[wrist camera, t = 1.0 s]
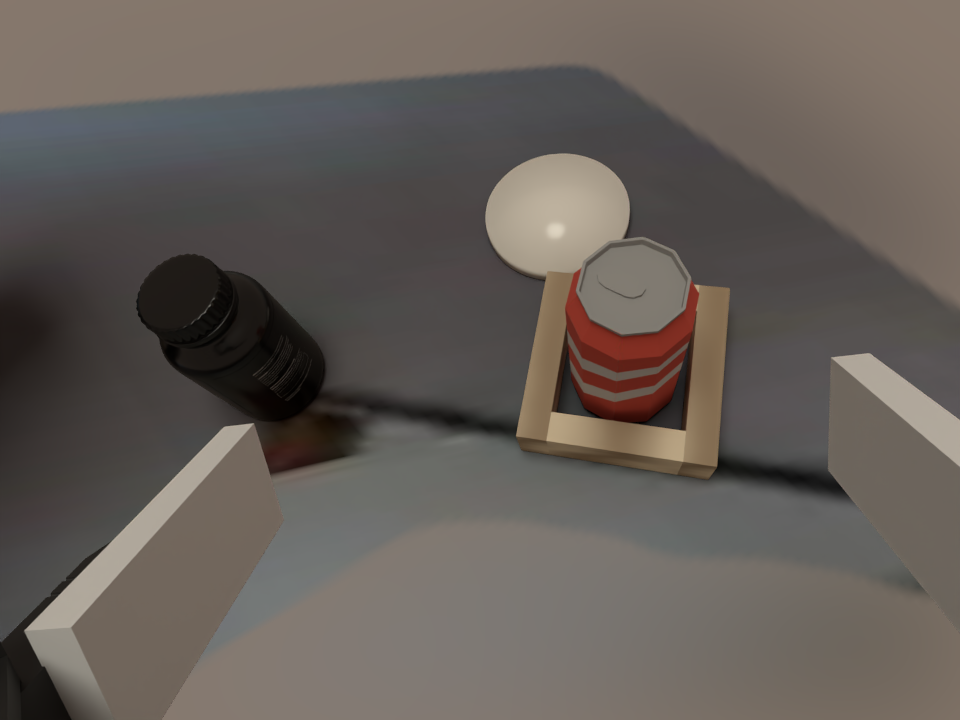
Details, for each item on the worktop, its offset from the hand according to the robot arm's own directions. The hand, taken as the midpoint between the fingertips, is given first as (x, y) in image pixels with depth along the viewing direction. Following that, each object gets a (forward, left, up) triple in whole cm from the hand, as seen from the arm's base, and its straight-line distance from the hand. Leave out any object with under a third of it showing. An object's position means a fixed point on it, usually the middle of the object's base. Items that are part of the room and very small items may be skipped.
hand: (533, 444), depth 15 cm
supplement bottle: (-21, +9, -25) cm, 34 cm away
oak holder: (+2, +12, -24) cm, 27 cm away
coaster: (-4, +23, -24) cm, 34 cm away
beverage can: (+2, +12, -25) cm, 27 cm away
